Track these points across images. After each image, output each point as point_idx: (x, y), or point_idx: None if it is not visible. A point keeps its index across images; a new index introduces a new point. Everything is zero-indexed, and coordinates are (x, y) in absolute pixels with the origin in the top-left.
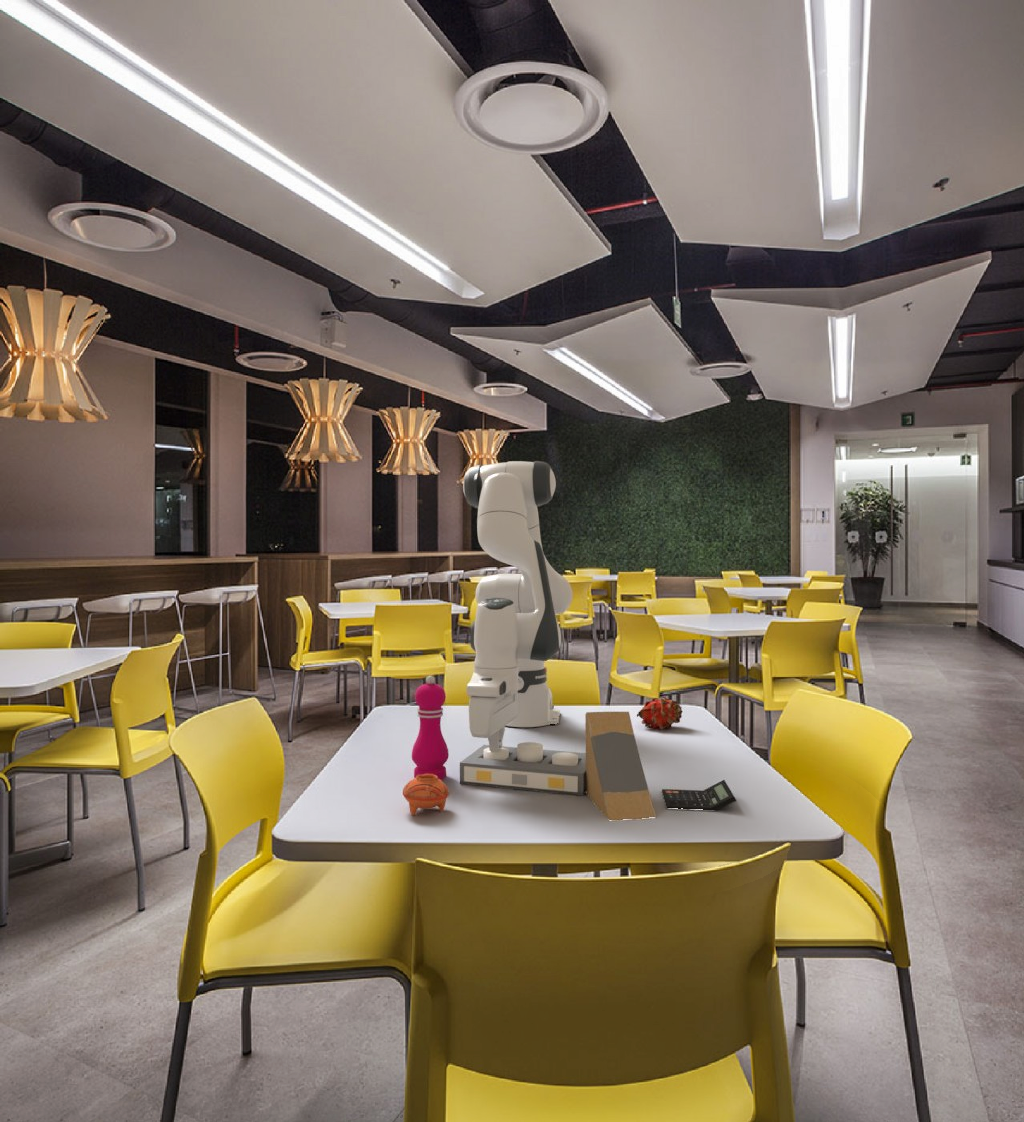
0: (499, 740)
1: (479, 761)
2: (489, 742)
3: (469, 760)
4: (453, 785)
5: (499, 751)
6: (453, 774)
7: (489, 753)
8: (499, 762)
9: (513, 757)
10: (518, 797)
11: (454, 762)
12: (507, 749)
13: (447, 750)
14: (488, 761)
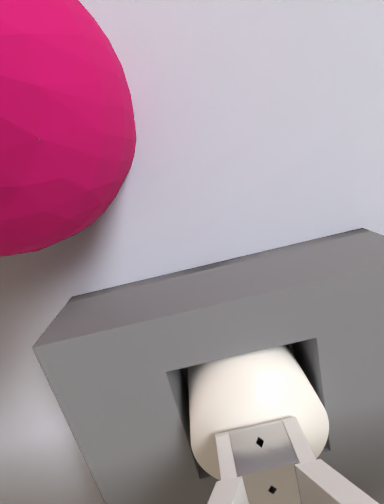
0: (301, 494)
1: (113, 409)
2: (217, 484)
3: (98, 364)
4: (38, 289)
5: None
6: (158, 203)
7: (191, 437)
8: (152, 479)
9: None
10: (77, 500)
11: (332, 84)
12: None
13: (47, 245)
14: (138, 439)
